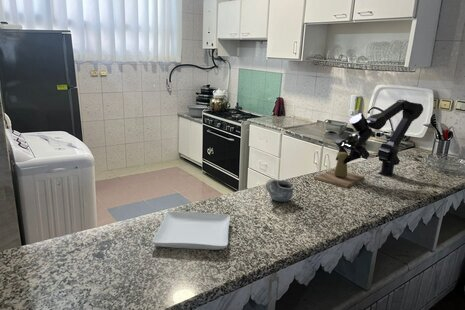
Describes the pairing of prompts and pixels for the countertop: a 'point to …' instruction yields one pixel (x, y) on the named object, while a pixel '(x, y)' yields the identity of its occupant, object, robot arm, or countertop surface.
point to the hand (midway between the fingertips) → (339, 161)
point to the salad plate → (193, 230)
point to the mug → (280, 189)
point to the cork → (341, 165)
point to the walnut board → (339, 178)
